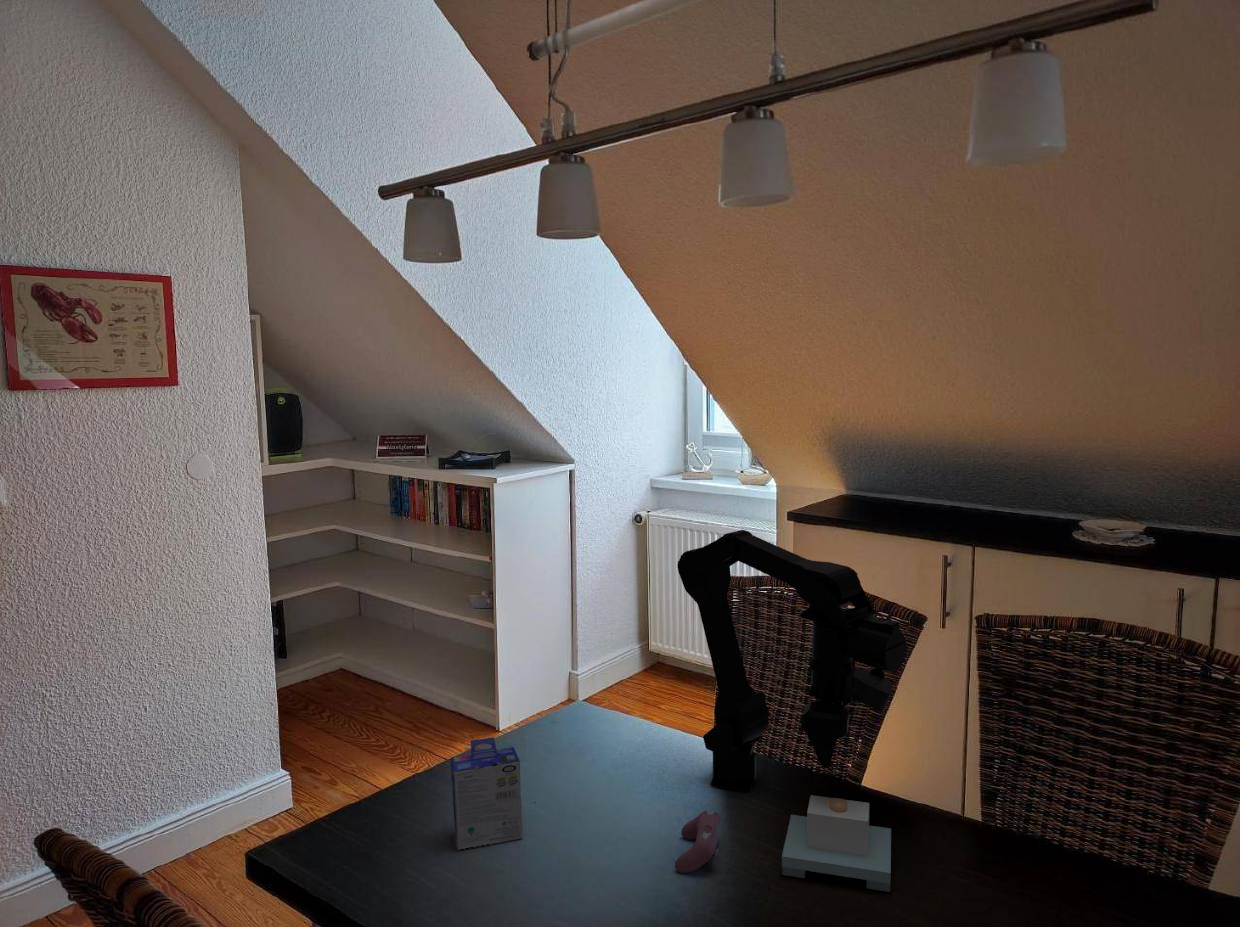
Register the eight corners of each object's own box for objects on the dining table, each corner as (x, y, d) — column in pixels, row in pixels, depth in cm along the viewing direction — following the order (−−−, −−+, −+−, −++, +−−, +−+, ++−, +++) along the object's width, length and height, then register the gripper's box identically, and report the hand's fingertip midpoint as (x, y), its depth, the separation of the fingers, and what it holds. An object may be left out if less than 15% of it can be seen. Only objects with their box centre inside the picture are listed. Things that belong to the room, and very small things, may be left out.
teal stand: (781, 876, 117) (781, 856, 117) (791, 833, 128) (791, 814, 127) (890, 894, 113) (890, 872, 113) (890, 848, 123) (891, 828, 123)
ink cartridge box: (517, 820, 133) (514, 730, 131) (524, 839, 128) (521, 745, 126) (452, 832, 130) (448, 740, 128) (457, 852, 125) (452, 756, 123)
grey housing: (867, 856, 116) (868, 815, 116) (806, 847, 119) (807, 807, 118) (868, 836, 121) (869, 797, 120) (810, 828, 123) (810, 789, 123)
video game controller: (701, 887, 118) (724, 846, 116) (671, 871, 118) (693, 829, 117) (707, 847, 127) (728, 808, 126) (679, 831, 128) (700, 793, 126)
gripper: (886, 683, 115) (882, 793, 117) (892, 638, 133) (888, 734, 135) (802, 673, 119) (799, 779, 121) (818, 630, 136) (815, 724, 138)
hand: (829, 753), depth 129 cm, fingers open, 9 cm apart
